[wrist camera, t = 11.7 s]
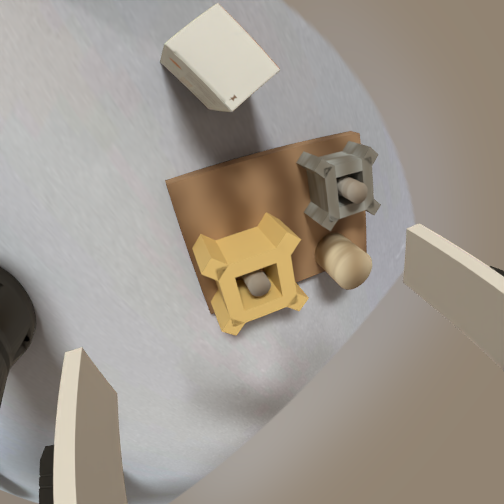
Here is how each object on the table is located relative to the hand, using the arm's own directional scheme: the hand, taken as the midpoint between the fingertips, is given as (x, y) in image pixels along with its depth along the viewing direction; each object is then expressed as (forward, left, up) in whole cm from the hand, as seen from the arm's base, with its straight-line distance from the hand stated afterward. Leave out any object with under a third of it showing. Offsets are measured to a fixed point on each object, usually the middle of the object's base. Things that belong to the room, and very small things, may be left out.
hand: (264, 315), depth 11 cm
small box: (+5, +10, -27) cm, 29 cm away
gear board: (+10, -10, -27) cm, 30 cm away
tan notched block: (+4, -13, -25) cm, 28 cm away
